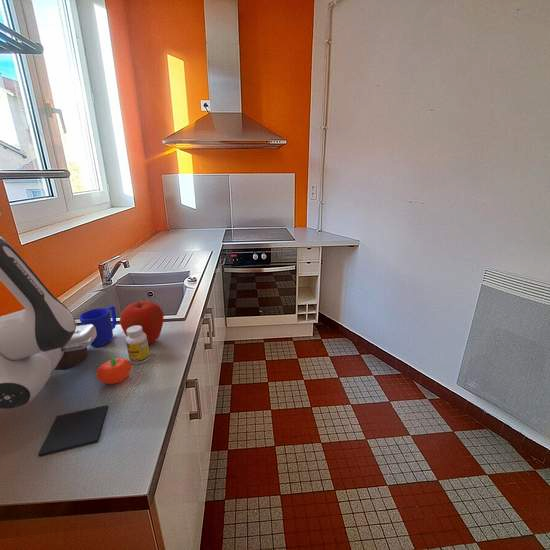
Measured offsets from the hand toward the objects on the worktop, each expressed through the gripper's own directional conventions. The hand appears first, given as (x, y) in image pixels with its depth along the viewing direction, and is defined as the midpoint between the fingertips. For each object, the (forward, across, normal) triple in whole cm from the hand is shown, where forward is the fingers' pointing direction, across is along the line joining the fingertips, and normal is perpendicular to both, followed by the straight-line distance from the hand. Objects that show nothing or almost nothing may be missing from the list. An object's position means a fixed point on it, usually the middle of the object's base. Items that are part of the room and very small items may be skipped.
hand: (60, 327), depth 85 cm
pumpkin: (-16, -15, +10) cm, 24 cm away
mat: (-31, -10, +10) cm, 34 cm away
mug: (+8, -8, +10) cm, 15 cm away
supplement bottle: (-8, -20, +10) cm, 24 cm away
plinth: (-1, 0, +10) cm, 10 cm away
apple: (+1, -21, +10) cm, 23 cm away
